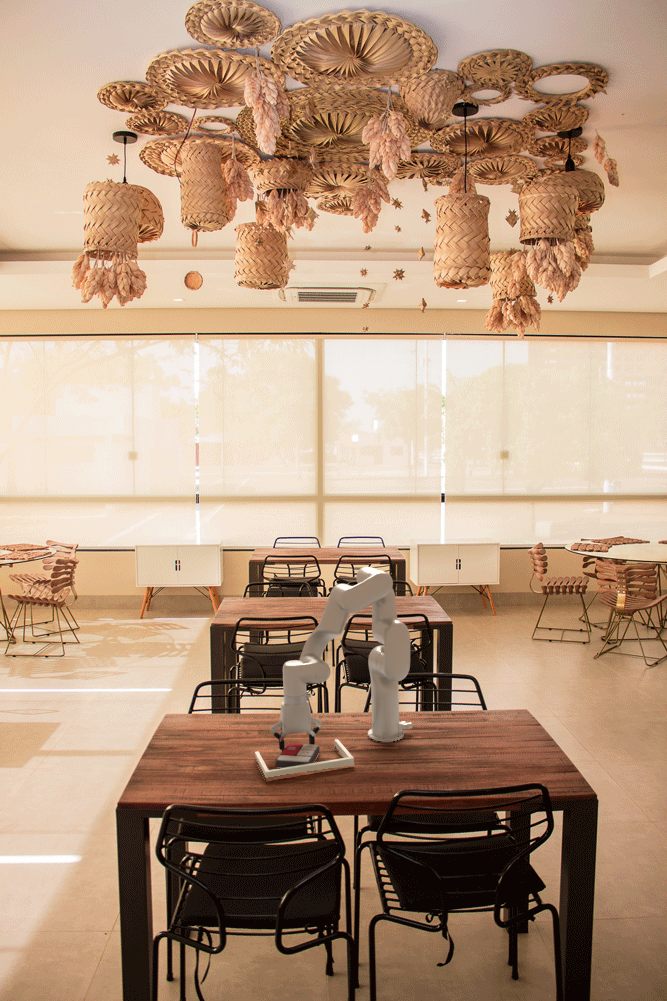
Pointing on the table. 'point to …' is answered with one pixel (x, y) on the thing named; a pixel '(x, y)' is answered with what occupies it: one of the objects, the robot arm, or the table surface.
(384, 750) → the table surface
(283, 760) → the calculator
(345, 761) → the slot
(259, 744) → the table surface
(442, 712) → the table surface
